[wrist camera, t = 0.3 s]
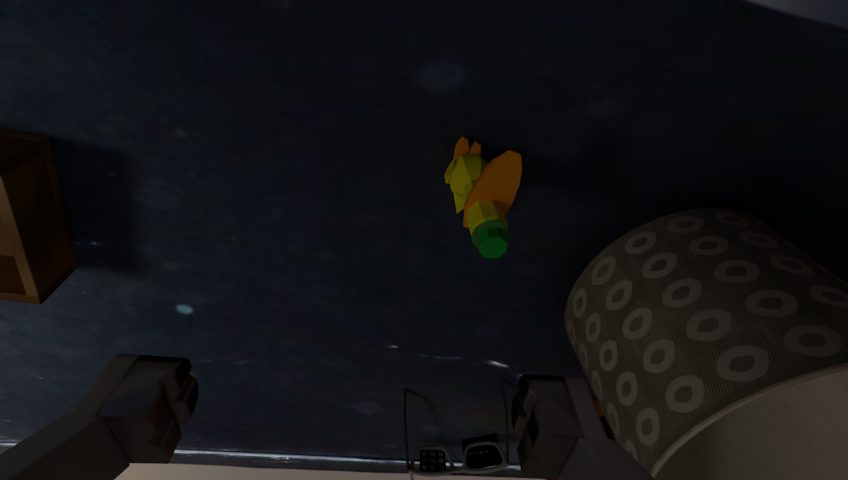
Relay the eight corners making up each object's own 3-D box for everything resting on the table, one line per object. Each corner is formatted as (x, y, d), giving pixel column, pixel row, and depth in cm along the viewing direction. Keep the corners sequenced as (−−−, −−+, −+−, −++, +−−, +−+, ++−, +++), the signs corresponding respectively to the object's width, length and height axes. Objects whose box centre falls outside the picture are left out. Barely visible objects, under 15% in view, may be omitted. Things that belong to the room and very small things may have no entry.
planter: (797, 195, 37) (1075, 361, 22) (699, 347, 48) (843, 530, 32) (587, 183, 35) (736, 358, 20) (533, 345, 45) (605, 539, 30)
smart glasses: (409, 463, 56) (409, 499, 51) (400, 374, 50) (399, 406, 46) (501, 456, 56) (510, 492, 51) (502, 367, 50) (512, 398, 46)
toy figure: (464, 98, 31) (500, 169, 21) (508, 115, 31) (563, 191, 21) (429, 180, 34) (446, 275, 24) (470, 193, 35) (503, 289, 25)
